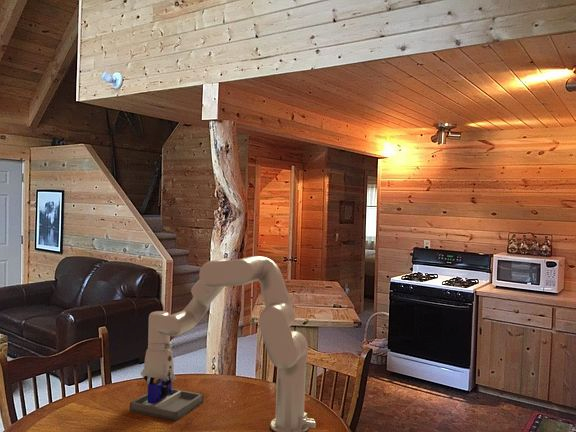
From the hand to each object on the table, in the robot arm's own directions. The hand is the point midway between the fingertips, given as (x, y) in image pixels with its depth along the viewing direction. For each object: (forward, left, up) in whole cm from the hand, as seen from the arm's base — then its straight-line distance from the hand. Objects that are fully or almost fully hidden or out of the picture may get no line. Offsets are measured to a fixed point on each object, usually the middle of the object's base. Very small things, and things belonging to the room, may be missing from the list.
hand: (157, 395), depth 183 cm
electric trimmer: (+11, -16, -4) cm, 20 cm away
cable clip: (0, 0, -1) cm, 1 cm away
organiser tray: (-4, 0, -3) cm, 5 cm away
